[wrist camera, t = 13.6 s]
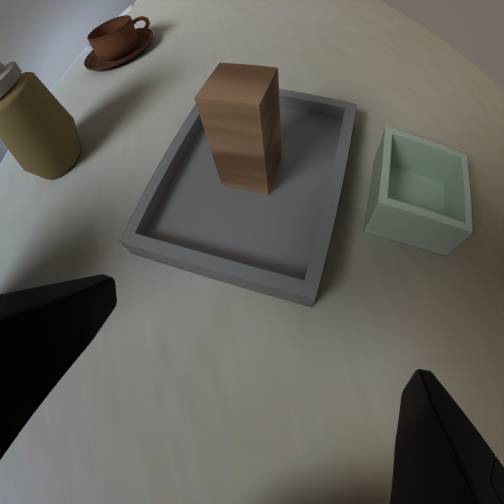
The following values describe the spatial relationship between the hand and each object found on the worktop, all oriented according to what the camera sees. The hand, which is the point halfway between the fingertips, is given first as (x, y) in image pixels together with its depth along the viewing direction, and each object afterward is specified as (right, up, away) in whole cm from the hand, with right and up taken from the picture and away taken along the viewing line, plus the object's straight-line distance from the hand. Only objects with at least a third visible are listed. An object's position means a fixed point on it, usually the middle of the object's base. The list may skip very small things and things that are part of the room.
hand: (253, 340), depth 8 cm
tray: (0, +9, +18) cm, 20 cm away
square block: (0, +9, +18) cm, 20 cm away
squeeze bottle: (-22, +13, +23) cm, 35 cm away
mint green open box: (+13, +6, +16) cm, 22 cm away
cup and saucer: (-21, +34, +31) cm, 51 cm away
